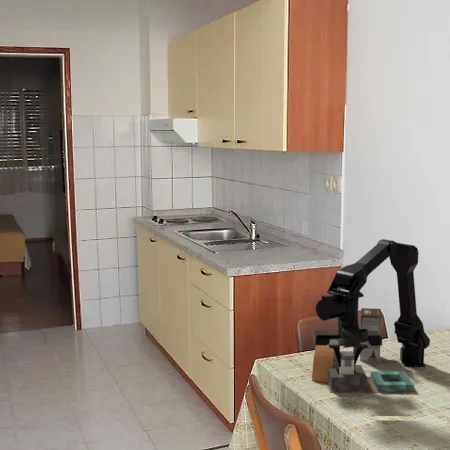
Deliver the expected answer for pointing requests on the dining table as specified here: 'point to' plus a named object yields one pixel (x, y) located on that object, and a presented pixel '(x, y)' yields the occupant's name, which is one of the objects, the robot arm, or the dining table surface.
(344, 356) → the plug
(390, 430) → the dining table surface
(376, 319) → the coffee box
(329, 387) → the dock
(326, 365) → the arch
